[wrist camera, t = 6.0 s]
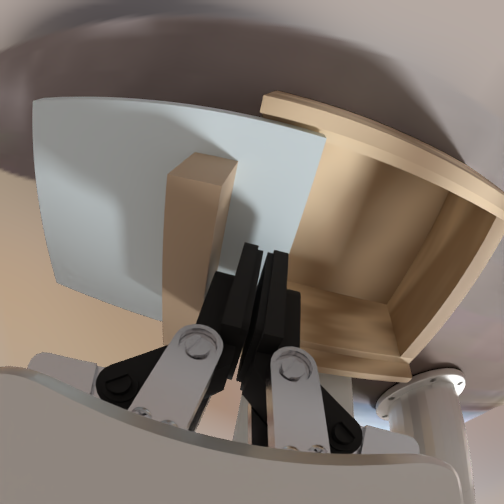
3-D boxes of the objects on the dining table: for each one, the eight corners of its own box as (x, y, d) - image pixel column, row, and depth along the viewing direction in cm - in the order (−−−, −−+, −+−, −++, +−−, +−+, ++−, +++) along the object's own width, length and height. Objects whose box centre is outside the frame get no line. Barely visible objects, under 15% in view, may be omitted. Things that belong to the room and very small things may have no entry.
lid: (324, 134, 9) (336, 157, 7) (256, 335, 16) (248, 385, 13) (43, 97, 9) (-7, 113, 7) (63, 275, 16) (35, 308, 13)
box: (466, 164, 14) (531, 215, 8) (389, 309, 21) (407, 382, 16) (276, 90, 14) (263, 95, 8) (234, 272, 21) (210, 349, 15)
